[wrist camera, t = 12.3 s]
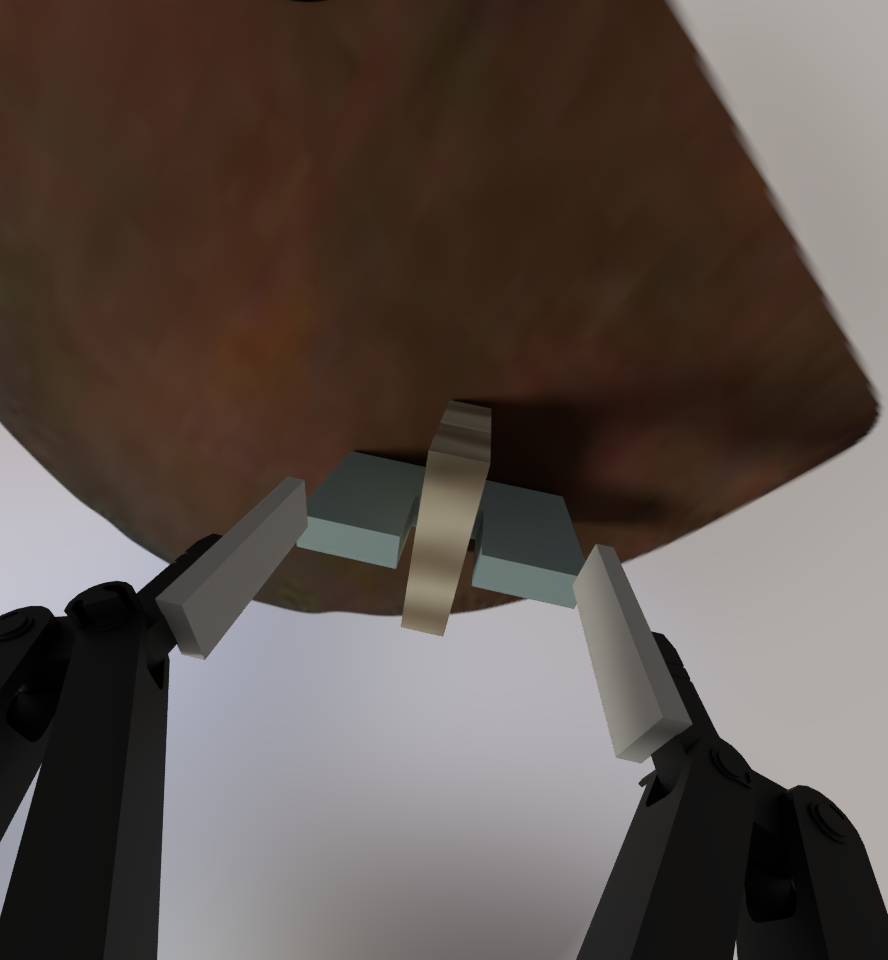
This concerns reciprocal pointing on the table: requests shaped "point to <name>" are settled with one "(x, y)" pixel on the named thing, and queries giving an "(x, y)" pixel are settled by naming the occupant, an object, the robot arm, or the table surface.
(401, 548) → the base plate
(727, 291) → the table surface
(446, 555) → the beige bar
